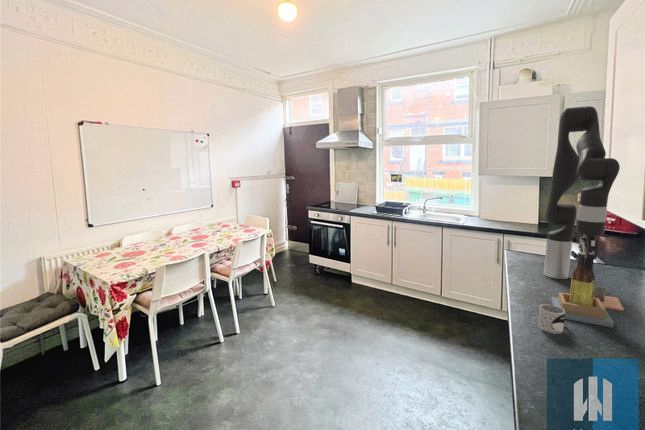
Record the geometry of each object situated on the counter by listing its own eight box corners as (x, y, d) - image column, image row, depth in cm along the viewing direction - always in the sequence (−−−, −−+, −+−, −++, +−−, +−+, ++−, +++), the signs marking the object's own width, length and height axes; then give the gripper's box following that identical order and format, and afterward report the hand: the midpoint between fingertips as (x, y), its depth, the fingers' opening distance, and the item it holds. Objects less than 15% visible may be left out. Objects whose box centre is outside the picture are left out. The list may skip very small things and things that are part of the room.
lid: (575, 293, 131) (577, 279, 130) (617, 300, 124) (619, 285, 123) (578, 304, 121) (580, 288, 120) (623, 312, 114) (625, 296, 113)
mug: (555, 336, 99) (558, 315, 98) (533, 326, 105) (535, 307, 104) (573, 328, 104) (575, 308, 102) (550, 319, 109) (552, 300, 108)
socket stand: (551, 300, 124) (552, 289, 123) (601, 308, 116) (603, 297, 115) (555, 316, 111) (557, 304, 110) (613, 327, 103) (615, 314, 103)
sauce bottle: (595, 313, 109) (603, 256, 106) (574, 312, 111) (581, 256, 107) (584, 304, 116) (591, 251, 112) (564, 303, 117) (570, 250, 113)
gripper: (611, 223, 100) (604, 274, 103) (600, 216, 112) (594, 261, 115) (580, 221, 104) (575, 270, 106) (573, 215, 116) (568, 258, 119)
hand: (585, 265), depth 111 cm, fingers open, 8 cm apart
